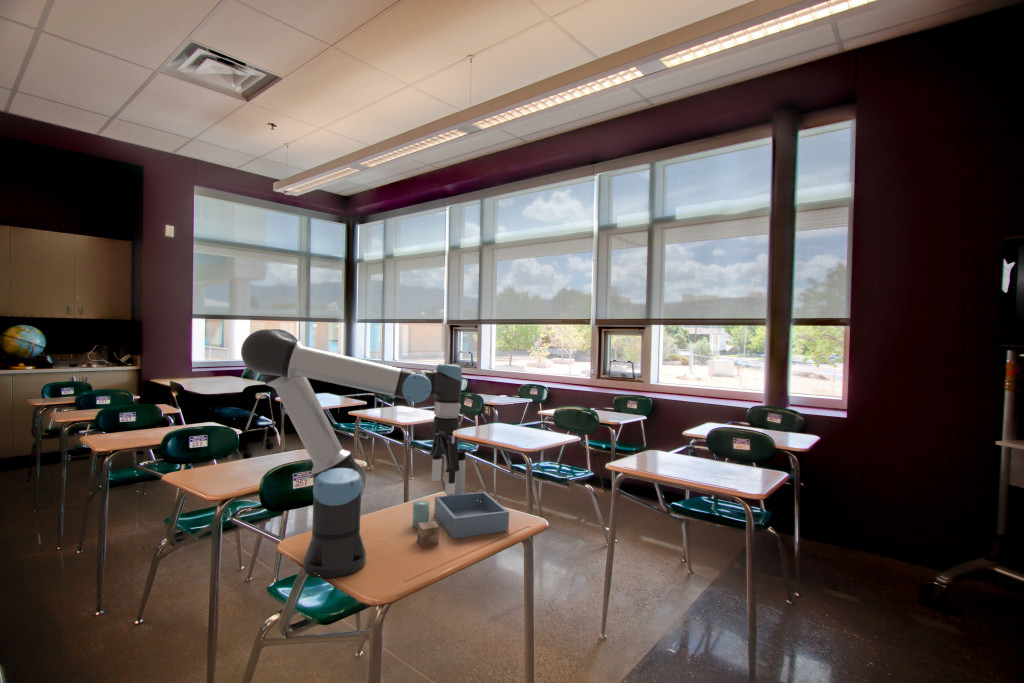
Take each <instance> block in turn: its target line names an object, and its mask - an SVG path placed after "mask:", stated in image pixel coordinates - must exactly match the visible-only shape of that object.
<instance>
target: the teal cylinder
mask: <svg viewBox="0 0 1024 683" xmlns="http://www.w3.org/2000/svg"><path fill="white" fill-rule="evenodd" d="M412 505H413V506H412V527H413V528H416V529H418V523H421V522H429V521H430V502H429V501H427V500H422V499H421V500H415V501H413V503H412Z"/></svg>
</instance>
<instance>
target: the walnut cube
mask: <svg viewBox="0 0 1024 683" xmlns="http://www.w3.org/2000/svg"><path fill="white" fill-rule="evenodd" d="M439 538H440V526H439V524H438V523H437V522H436V520H432V521H430V520H429V522H421V523H418V528H417V539H416V540H417V541H418V543H419V545H420V546H421V547H427V546H433V545H439V541H440V540H439Z"/></svg>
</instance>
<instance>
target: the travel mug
mask: <svg viewBox="0 0 1024 683" xmlns="http://www.w3.org/2000/svg"><path fill="white" fill-rule="evenodd" d="M457 449H458V459H459V471H457V472H456V481H455V494H447V495H457V494H465V484H466V483H465V482H466V480H465V479H466V453H467V452H468V450H467V448H457ZM447 495H446V496H447Z"/></svg>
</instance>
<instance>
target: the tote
mask: <svg viewBox="0 0 1024 683" xmlns="http://www.w3.org/2000/svg"><path fill="white" fill-rule="evenodd" d="M477 500H478V501H477ZM480 501H481V502H480ZM433 513H434V516H435V517H436V518H437V520H438V521H439V523H440V524H441V525H442V526H443V528H444V529H445V531H446V532H447V533H448V534H449V535H450V536H451V538H452V539H461V538H468V537H476V536H483V535H490V534H495V533H496V532H498V533H502V532H501V531H505V532H507V531H506V530H508V531H509V529H510V528H509V524H510V512H509V510H508V509H506V508H505V507H504V506H503V505H502V504H500V503H499V502H498V501H497V500H496V499H495V498H493V497H492V496H491V495H490V494H488V493H487V491H479V492H468V493H464V494H457V495H440V496H434V512H433Z"/></svg>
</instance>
